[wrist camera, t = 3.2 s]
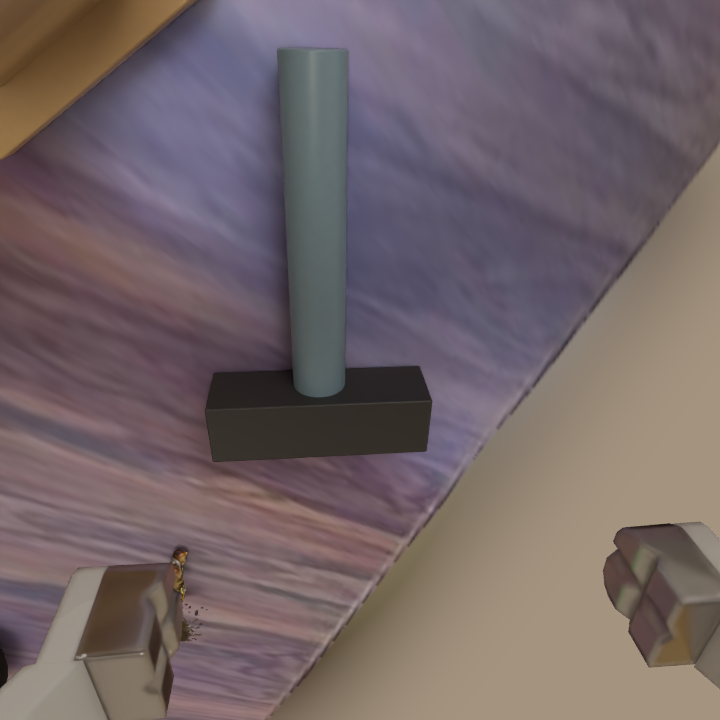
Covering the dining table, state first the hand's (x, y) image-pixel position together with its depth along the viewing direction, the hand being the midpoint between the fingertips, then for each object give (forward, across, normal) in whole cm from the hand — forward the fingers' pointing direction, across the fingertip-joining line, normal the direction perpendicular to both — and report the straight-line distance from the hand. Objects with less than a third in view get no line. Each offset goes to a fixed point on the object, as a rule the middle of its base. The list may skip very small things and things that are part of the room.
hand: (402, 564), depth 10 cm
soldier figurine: (+13, +10, +21) cm, 27 cm away
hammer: (+16, +1, 0) cm, 16 cm away
